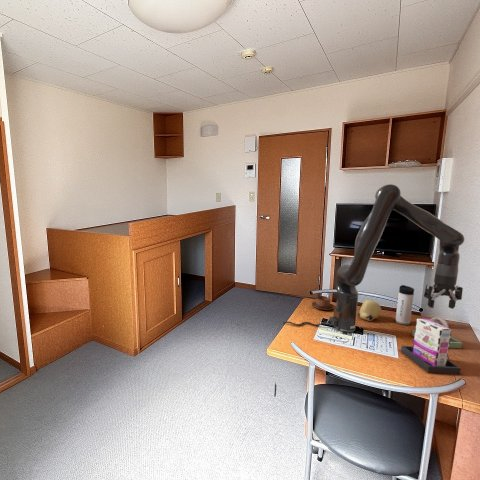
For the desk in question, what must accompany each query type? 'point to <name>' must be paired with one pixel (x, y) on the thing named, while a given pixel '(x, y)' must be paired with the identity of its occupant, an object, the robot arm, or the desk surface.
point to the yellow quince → (369, 310)
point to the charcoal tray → (447, 369)
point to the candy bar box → (431, 342)
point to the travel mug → (404, 305)
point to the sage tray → (453, 342)
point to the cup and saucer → (323, 303)
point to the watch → (439, 321)
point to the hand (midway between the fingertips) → (440, 307)
